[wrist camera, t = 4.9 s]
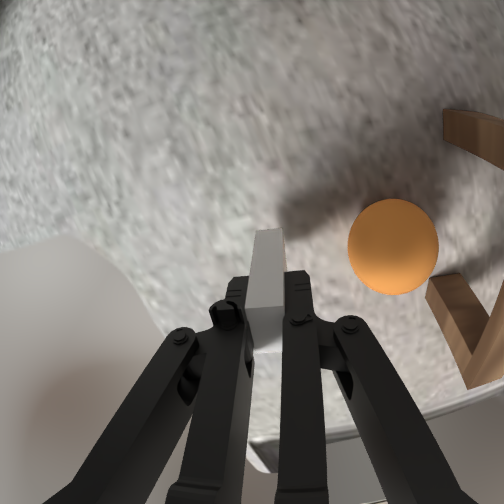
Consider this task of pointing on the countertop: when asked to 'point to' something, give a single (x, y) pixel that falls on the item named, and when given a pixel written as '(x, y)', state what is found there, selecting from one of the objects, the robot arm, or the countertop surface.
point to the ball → (393, 246)
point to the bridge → (454, 286)
